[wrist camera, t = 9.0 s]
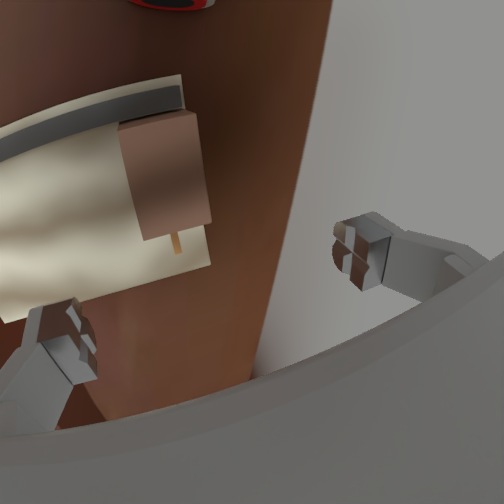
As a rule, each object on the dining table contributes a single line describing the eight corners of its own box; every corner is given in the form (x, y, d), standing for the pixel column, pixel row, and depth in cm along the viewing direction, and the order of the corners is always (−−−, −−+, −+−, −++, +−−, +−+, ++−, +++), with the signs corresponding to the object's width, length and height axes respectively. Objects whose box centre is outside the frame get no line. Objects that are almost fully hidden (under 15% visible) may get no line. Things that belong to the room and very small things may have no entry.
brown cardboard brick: (119, 122, 19) (117, 131, 15) (181, 107, 20) (196, 113, 16) (139, 211, 23) (143, 241, 19) (195, 196, 24) (211, 222, 20)
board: (-56, 157, 15) (-79, 171, 12) (176, 75, 21) (185, 72, 17) (9, 310, 24) (0, 337, 21) (205, 253, 29) (217, 277, 26)
